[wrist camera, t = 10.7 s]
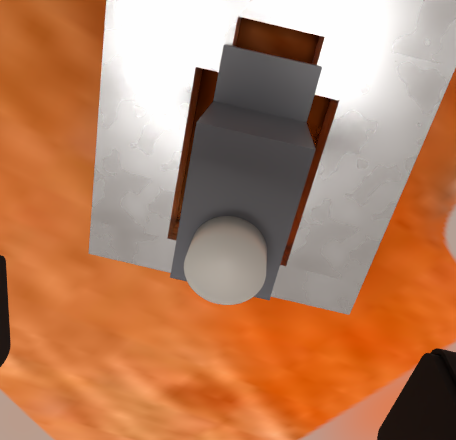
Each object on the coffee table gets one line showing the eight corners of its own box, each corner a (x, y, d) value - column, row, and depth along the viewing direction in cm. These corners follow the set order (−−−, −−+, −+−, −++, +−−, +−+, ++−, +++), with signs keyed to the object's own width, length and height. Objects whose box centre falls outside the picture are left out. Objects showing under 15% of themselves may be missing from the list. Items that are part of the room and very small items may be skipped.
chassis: (149, -284, 16) (129, -333, 14) (539, -192, 16) (581, -227, 14) (104, 234, 27) (88, 253, 25) (342, 290, 27) (349, 314, 25)
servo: (230, 42, 21) (200, 53, 13) (315, 61, 21) (344, 86, 13) (192, 240, 27) (153, 344, 18) (261, 256, 27) (254, 368, 18)
